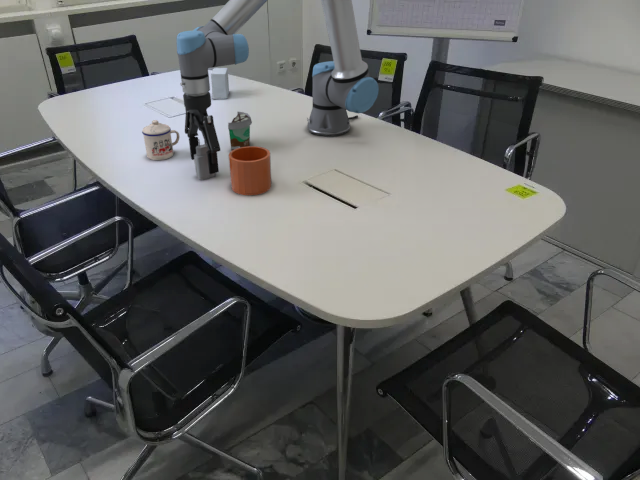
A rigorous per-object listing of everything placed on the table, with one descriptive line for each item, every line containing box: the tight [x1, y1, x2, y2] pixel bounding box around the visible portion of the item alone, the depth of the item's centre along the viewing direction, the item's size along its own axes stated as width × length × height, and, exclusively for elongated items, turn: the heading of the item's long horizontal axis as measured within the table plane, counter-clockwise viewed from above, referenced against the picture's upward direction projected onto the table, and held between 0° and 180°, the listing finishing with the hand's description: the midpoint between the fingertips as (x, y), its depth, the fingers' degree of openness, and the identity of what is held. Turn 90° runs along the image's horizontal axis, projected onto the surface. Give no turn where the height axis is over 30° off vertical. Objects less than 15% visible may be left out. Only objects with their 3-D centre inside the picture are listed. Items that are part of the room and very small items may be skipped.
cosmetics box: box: [210, 67, 230, 100], centre depth 228 cm, size 10×6×10 cm, turn 179°
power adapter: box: [193, 138, 216, 181], centre depth 159 cm, size 3×5×12 cm, turn 126°
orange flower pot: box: [228, 145, 272, 196], centre depth 152 cm, size 12×12×10 cm
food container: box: [227, 111, 253, 152], centre depth 179 cm, size 12×6×10 cm, turn 168°
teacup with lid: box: [141, 119, 181, 161], centre depth 174 cm, size 12×9×12 cm
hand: (204, 165), depth 160 cm, fingers open, 12 cm apart
